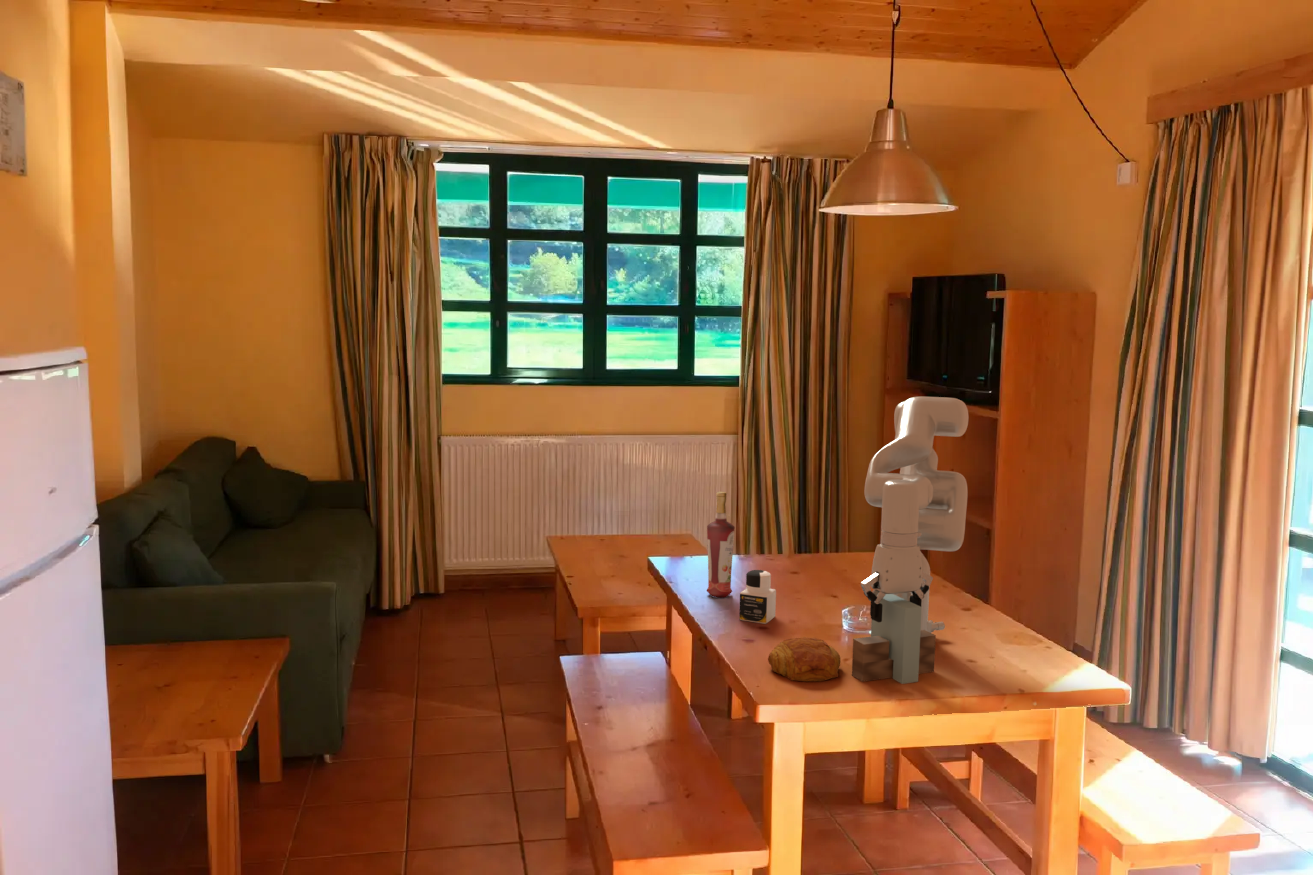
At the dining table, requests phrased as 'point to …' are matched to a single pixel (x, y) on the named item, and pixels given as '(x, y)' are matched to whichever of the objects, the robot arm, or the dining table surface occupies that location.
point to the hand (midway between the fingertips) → (895, 618)
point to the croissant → (805, 659)
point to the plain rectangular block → (900, 636)
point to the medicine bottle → (757, 598)
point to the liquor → (720, 551)
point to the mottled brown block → (887, 657)
